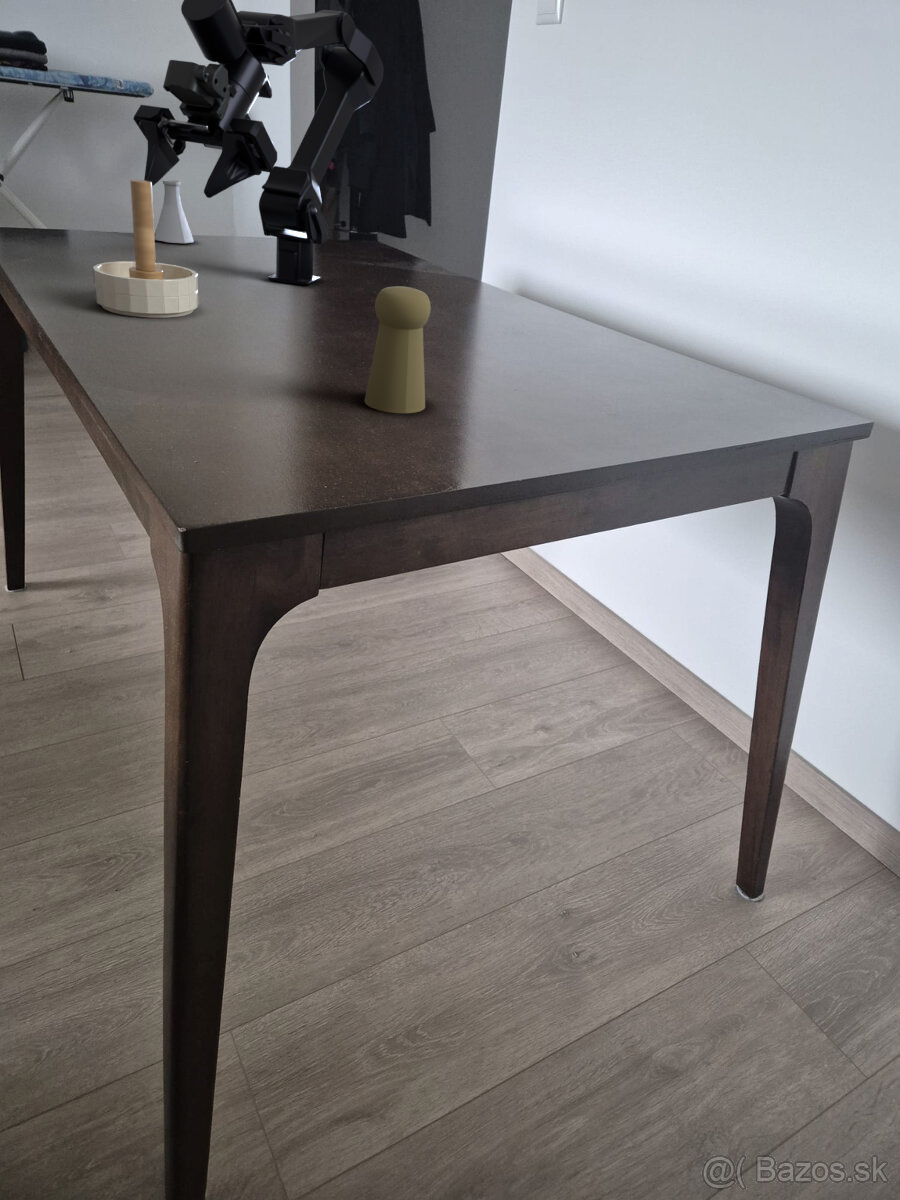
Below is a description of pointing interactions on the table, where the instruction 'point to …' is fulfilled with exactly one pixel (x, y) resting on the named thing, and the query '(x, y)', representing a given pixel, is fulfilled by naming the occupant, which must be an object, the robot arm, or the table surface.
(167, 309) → the bowl
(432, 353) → the table surface
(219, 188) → the robot arm
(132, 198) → the pestle
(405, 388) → the cork
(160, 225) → the flask
